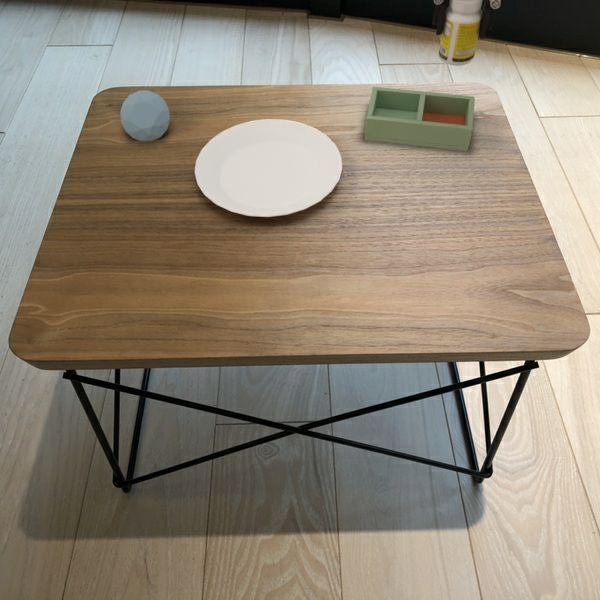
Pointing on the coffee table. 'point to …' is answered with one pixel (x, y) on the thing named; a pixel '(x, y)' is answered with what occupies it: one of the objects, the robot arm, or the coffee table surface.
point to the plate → (268, 167)
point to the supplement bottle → (460, 31)
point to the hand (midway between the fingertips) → (460, 30)
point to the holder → (420, 118)
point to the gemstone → (145, 116)
